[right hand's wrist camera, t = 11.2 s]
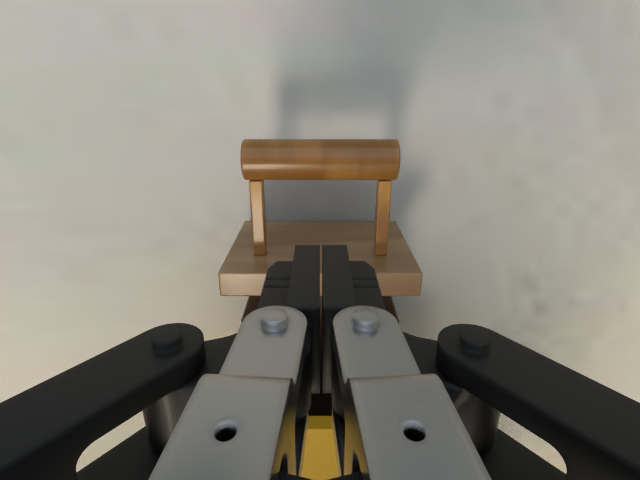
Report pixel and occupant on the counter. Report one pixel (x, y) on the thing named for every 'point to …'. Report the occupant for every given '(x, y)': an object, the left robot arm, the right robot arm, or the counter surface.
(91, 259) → the counter surface
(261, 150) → the drawer
